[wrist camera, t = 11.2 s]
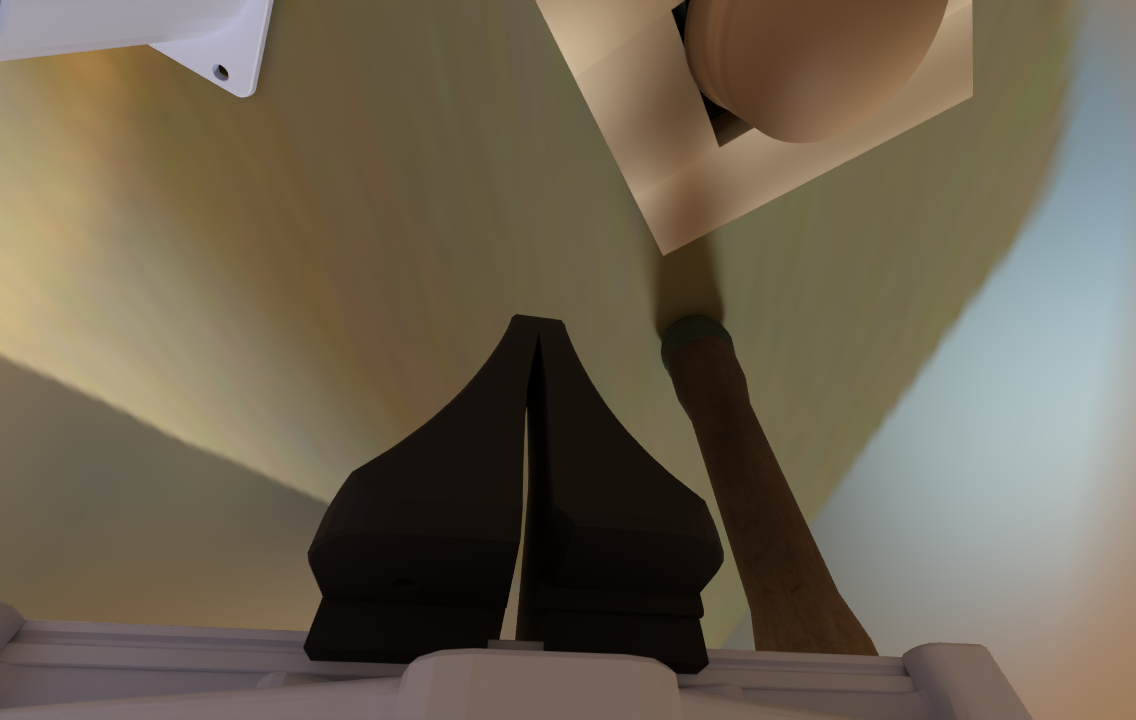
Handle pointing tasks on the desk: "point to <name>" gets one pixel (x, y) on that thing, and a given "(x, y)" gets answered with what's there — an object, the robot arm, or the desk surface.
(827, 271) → the desk surface
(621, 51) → the board
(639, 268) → the desk surface
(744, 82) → the peg
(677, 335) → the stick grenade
